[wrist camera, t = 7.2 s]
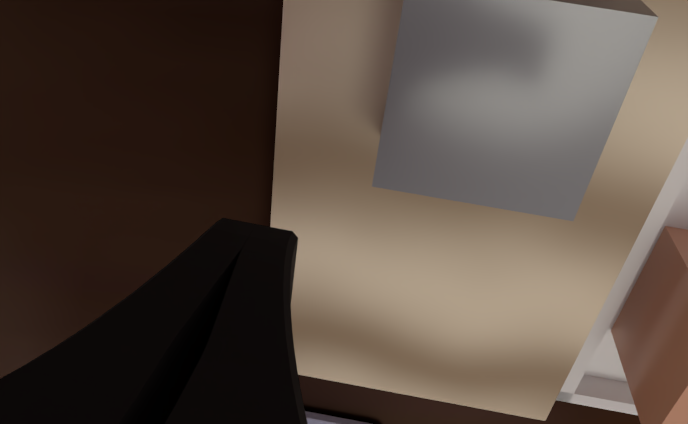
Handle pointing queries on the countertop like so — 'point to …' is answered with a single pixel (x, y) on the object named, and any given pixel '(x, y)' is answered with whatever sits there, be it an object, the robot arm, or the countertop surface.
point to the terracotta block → (658, 333)
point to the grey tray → (599, 348)
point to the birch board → (449, 226)
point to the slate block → (507, 99)
